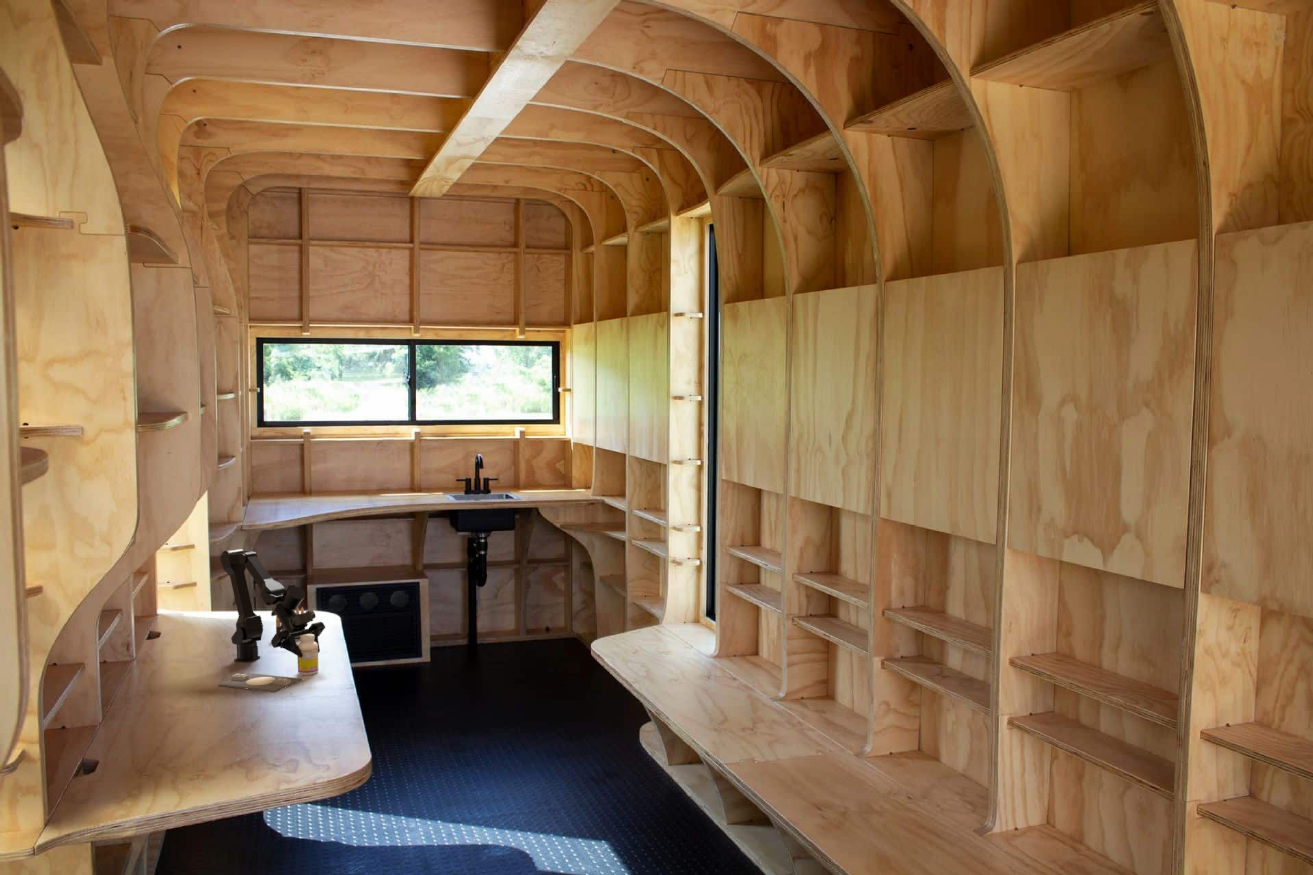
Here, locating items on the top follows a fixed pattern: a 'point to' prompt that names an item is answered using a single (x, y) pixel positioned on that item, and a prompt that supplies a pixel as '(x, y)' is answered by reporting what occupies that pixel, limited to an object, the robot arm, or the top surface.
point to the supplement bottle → (308, 655)
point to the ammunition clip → (281, 624)
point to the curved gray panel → (260, 682)
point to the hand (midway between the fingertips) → (310, 654)
